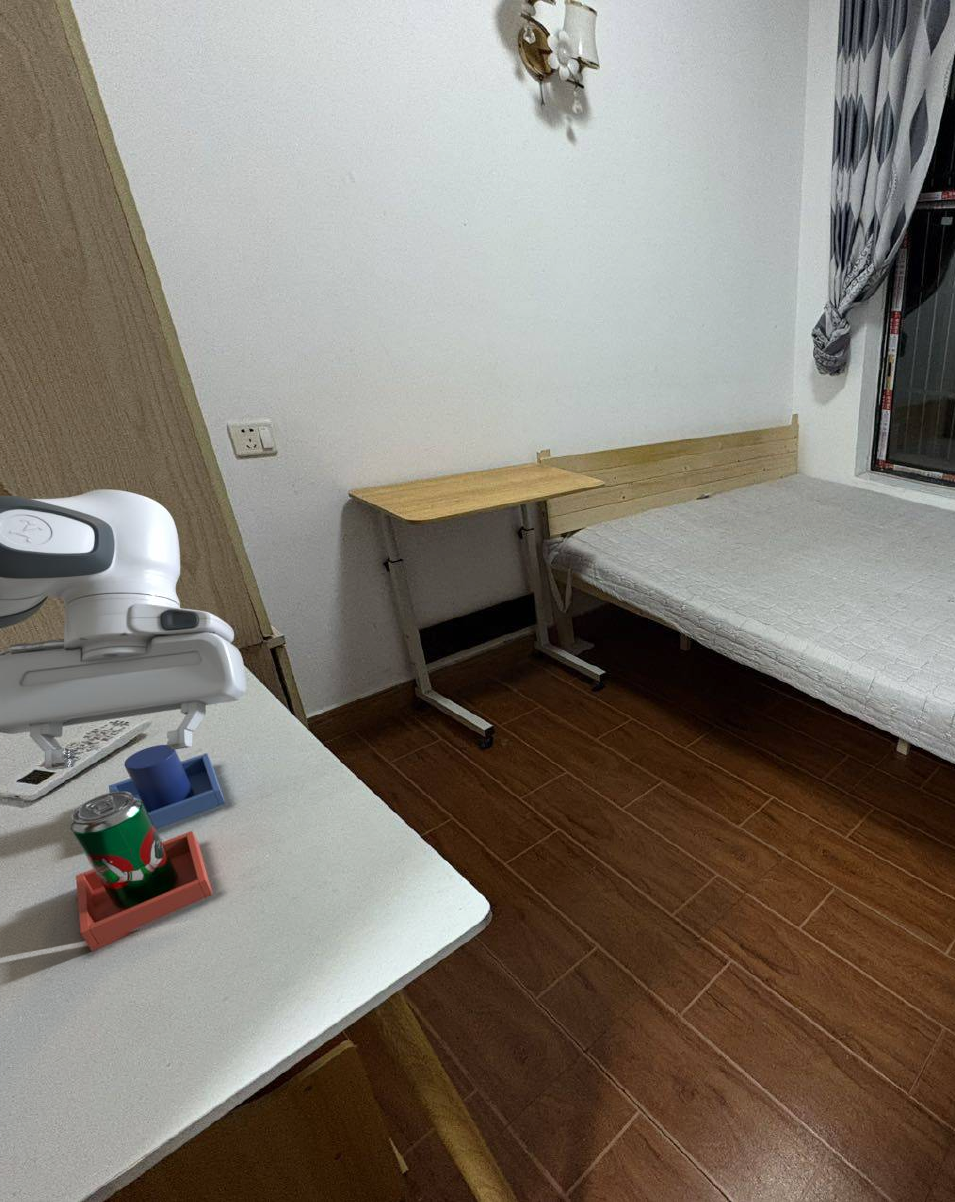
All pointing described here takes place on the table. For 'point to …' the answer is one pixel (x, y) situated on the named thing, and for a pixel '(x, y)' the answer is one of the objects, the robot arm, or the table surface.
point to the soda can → (124, 848)
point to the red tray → (114, 923)
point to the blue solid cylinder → (158, 777)
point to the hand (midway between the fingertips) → (121, 757)
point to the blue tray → (203, 799)
